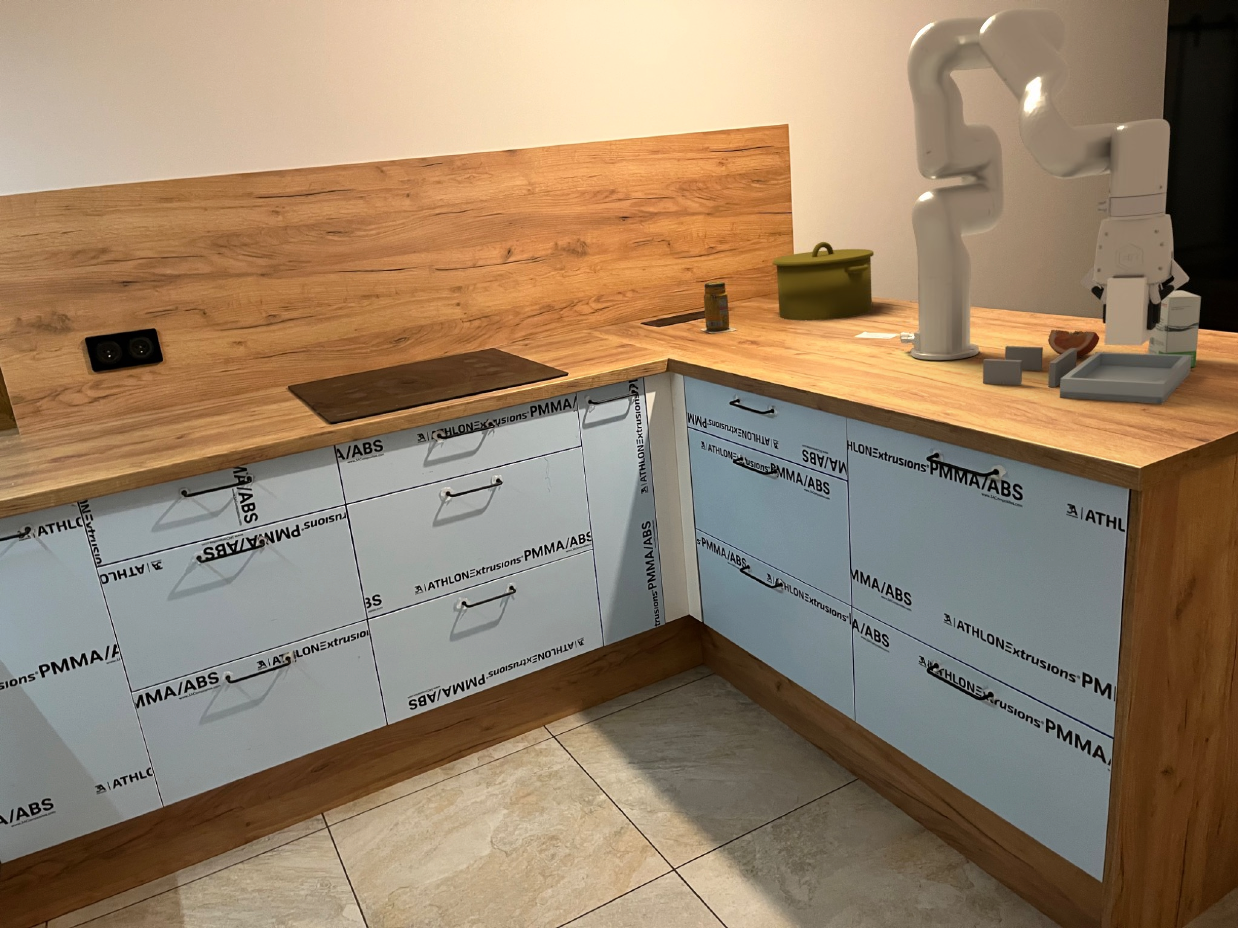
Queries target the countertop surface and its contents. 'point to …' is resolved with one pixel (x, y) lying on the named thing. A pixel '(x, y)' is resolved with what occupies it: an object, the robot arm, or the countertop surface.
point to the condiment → (716, 308)
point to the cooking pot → (824, 283)
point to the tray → (1126, 377)
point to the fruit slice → (1073, 341)
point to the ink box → (1177, 326)
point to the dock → (1026, 365)
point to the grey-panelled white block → (1127, 310)
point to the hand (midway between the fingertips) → (1130, 327)
